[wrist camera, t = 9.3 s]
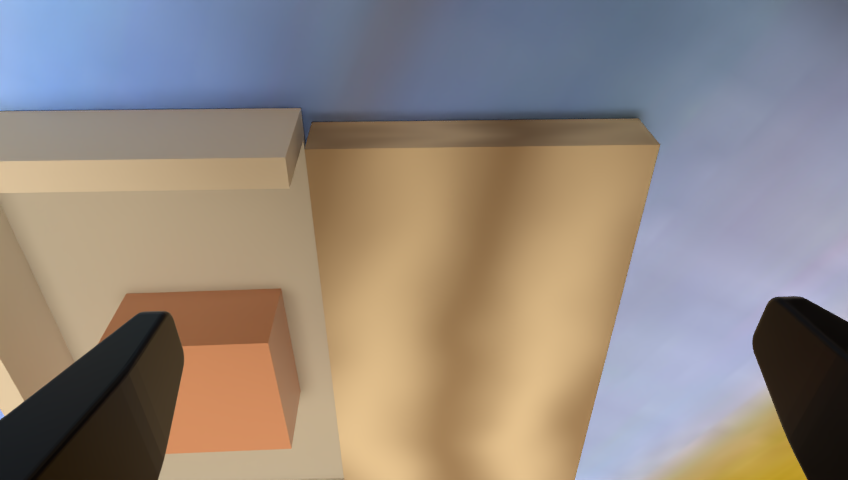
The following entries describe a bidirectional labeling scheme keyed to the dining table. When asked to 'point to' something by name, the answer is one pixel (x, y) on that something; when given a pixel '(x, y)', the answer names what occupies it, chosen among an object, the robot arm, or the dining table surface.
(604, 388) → the dining table surface
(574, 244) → the wooden board
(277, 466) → the box
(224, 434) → the block
